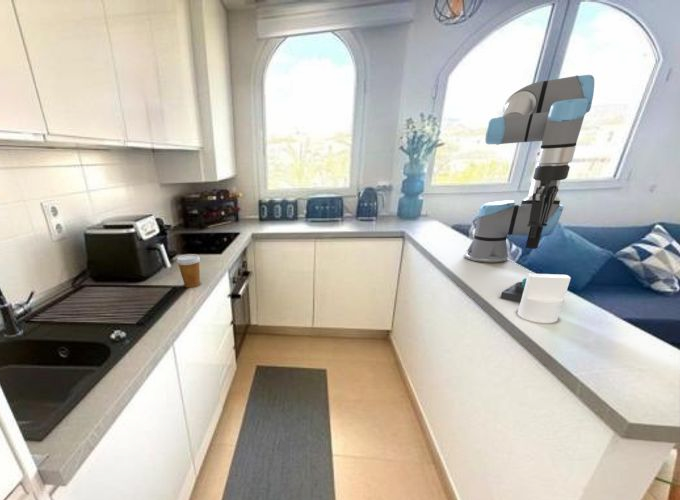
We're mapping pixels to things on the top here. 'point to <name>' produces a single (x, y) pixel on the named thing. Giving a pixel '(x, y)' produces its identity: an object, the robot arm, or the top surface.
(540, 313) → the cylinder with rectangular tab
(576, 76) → the robot arm
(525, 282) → the button
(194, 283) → the disposable coffee cup
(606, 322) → the top surface
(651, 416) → the top surface
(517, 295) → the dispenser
